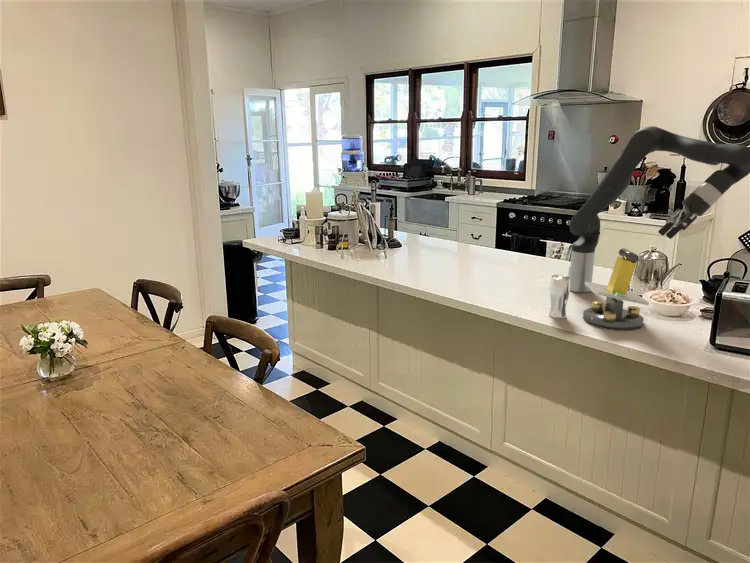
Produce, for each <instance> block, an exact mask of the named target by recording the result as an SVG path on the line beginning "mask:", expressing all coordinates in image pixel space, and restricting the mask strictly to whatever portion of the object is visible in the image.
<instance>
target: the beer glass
mask: <svg viewBox="0 0 750 563" xmlns="http://www.w3.org/2000/svg"><path fill="white" fill-rule="evenodd" d="M570 292H571V290H570V277H569V276H568V275H563V274H554V275H551V277H550V285H549V298H550V310H549V313H548V316H549V317H550V318H553V319H558V320H559V319H560V320H561V319H565V318H567V311H566V310H567V309H566V308H567V304H568V300H569V297H570V296H569V295H570Z"/></svg>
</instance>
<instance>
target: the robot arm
mask: <svg viewBox="0 0 750 563" xmlns="http://www.w3.org/2000/svg"><path fill="white" fill-rule="evenodd" d="M657 151H658V152H669V153H673V154H676V155H679V156H682V157H683V158H685V159H688V160H690V161H694V162H697V163H701V164H706V165H710V166H718V165H720V164H725V165H727V166H725V167H724V168H723V169H718V170H715V171H713V173H712V174H710V175H709V176H708V177H707V178H706V179H705V180H704V181H703V182H702V183H701V184H699V185H698V186H697V187H696V188H695V189H694V190H692V192H690V194H688V195H687V197H686V198H685V199H684V200H682V202H681V203H682V206H684V207H683V208H682V209H680V208H677V209H676V210H675V211H673V213H672V214H671V215H670V216H669V217H667V219H666V220H665V224H664V225H663V226H662V227H661V228H660V229H659V230H658V234H660V236H666V237H667V238H668V239H670V240H672V239H673V238H674V237H675V236H676V235H677V234H678V233H679V232H682V231H685V230H686V229H687V228H688V227H689V226H690V225H691V224H692V223H693V222H694V221H695V220H696V219H697V218H698V217H702V216H703V215H704V214H705V213H706V212H707V211H708V210H709V209H710V208H711V207H713V205H715V203H717V201H718V200H719V199H720V198H721V196H723V195H724V194H725V193H726V192H727V191H728V190H729V189H731V187H732V186H733V185H735V184H737V183H739V181H741V180H742V179H744V178H746V177H747V176H748V175H749V174H750V147H748V146H747V145H743V144H732V143H731V144H727V143H725V144H722V143H721V144H720V143H716V142H712V141H707V140H701V139H697V138H691V137H687V136H683V135H680V134H677V133H673V132H670V131H668V130H666V129H664V128H661V127H658V126H655V125H653V126H647V127H644V128H643V127H642V128H640V129H638V130H637V131H635V132H634V133H633V134H632V136H631V137H630V138H629V140H628V142H627V144H626V146H625V148H624V149H623V150H622V153H621V154H620V155H619V157H618V158H617V160H616V161H615V162H614V163H613V165H612V166H611V167H610V169H609V170H608V172H607V173H606V174H605V175H604V176H603V178H602V180H600V182H599V184H598V185H597V186H596V188H595V190H594V191H593V192H592V193H591V195H590V196H589V197H588V199H587V200H586V201H585V203H584V204H583V205H582V206H581V207H580V208H579V209H578V210H577V211H576V213H575V214H574V215H573V216H572V217H571V219H570V222H569V230H570V233H571V234H573V235H574V236H579V237H578V239H577V240H576V241H574V242H573V243H572V245H571V254H570V255H571V256H570V266H569V267H568V275H567V276H569V277H570V292H575V293H583V294H584V293H590V292H592V290H591V289H590V288H589V287H588V286H586V285H585V281H586V282H591V283H593V274H594V265H595V255H596V254H595V253H596V248H597V246H598V244H599V238H600V230H601V220H600V217H599V214H600V213H601V212H602V211H604V209H607V208H608V207H609V206H610V205H612V204H614V202H616V201H617V200H618V199H620V197H621V196H622V194H623V193H624V191H626V189H627V188H628V186H629V185H630V183H631V180H632V178H633V175H634V172H635V170H636V168H637V167H638V165H639V164H640V163H641V162H642V161H643V160H644V159H645V157H647V156H648V155H649V154H651V153H654V152H657Z"/></svg>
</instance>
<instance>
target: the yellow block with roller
mask: <svg viewBox="0 0 750 563" xmlns="http://www.w3.org/2000/svg"><path fill="white" fill-rule="evenodd" d="M618 255H619V256H617V257H616V259H615V263H614V266H613V268H612V272H611V276H610V278H609V281H608V284H607V285H604V284H599V283H594V282H592V283H591V282H586V281H585V285H586V286H588V287H589V288H590V289H591V292H594V293H595V294H596V295H597V296H602V297H610V298H615V299H620V300H622V301H625V302H628V303H629V302H630V303H634V304H639V305H645V306H649V305H650V302H649V301H648V300H646V299H645V298H643V297H642V296H640V295H639V294H637V293H636V292H634V291H633V290H629V287H630V284H631V281H632V278H633V276H634V273H635V269H636V266H637V264H638V262H639V259H640V257H639V255H638V254H636V253H635V252H633V251H630V250H629V249H627V248H624V247H623V248H621V249H619V250H618Z"/></svg>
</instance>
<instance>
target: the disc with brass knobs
mask: <svg viewBox="0 0 750 563" xmlns="http://www.w3.org/2000/svg"><path fill="white" fill-rule="evenodd" d="M640 312H641V308H640V307H639V306H635V305H634V306H633V305H630V306H627V309H624V300H620V299H615V298H610V297H606V298H605V302H604V301H601V300H593V301H592V303H591V307H590V308H586V309H585V310H584V311H583V315H582V319H584V320H583V321H584V322H585V321H586V322H585V323H587V324H588V325H591V326H593V325H594V326H593V327H596V326H597V328H600V327H601V329H604V328H606V330H610V329H613V331H623V330H624V331H635V330H638V329H641V328H642V327H643V326H644V319H645V318H644V317H643V315H641V314H640Z"/></svg>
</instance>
